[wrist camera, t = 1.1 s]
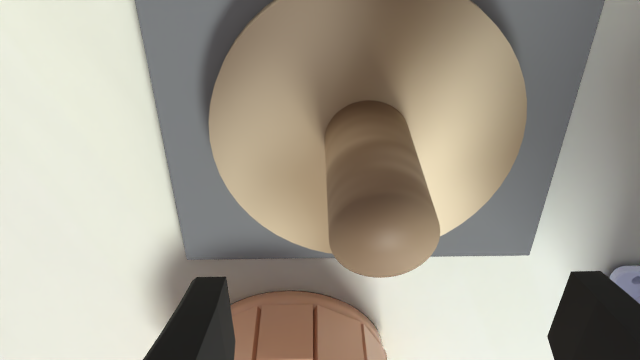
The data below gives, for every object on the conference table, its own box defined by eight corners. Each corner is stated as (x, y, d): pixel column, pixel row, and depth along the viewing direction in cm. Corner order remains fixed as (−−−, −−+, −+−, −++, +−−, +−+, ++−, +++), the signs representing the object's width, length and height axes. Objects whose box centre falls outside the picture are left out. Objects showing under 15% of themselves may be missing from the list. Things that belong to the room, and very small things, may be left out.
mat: (613, -69, 15) (624, -65, 14) (524, 245, 22) (529, 255, 21) (129, -65, 15) (122, -61, 14) (189, 249, 22) (187, 259, 21)
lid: (552, -35, 15) (666, 30, 10) (488, 240, 21) (541, 364, 16) (191, -32, 15) (134, 36, 10) (229, 244, 21) (204, 368, 16)
